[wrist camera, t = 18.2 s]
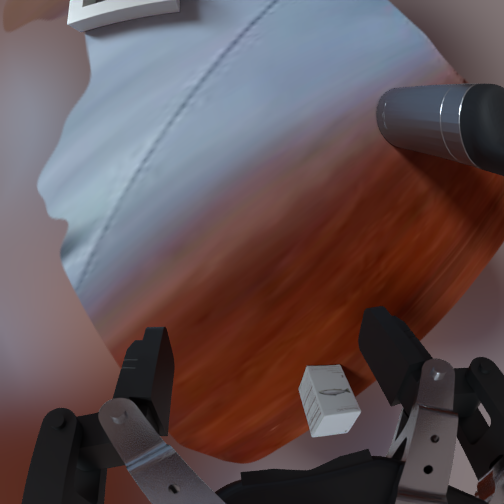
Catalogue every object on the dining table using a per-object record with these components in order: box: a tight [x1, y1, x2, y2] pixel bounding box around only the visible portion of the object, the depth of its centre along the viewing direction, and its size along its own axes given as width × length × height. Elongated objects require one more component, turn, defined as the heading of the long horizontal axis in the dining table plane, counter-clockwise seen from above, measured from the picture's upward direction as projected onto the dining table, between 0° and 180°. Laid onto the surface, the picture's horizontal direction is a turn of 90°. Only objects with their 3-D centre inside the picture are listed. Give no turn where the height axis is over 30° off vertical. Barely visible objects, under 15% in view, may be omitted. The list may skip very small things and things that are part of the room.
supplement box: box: [299, 365, 361, 437], centre depth 50 cm, size 7×7×13 cm
